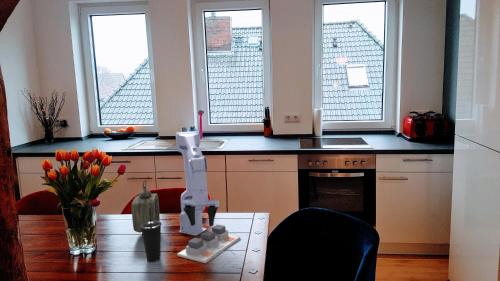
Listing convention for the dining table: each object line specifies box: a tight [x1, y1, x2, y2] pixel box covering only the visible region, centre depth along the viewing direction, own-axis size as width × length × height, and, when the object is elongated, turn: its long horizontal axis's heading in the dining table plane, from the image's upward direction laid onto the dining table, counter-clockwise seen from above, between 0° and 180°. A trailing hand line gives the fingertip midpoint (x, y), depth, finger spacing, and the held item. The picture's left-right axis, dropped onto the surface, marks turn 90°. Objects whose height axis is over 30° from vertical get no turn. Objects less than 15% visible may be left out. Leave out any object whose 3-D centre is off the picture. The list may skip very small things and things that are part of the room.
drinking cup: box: [140, 208, 163, 263], centre depth 144 cm, size 8×8×20 cm
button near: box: [188, 237, 204, 249], centre depth 148 cm, size 4×4×3 cm
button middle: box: [200, 230, 215, 241], centre depth 154 cm, size 4×4×3 cm
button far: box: [211, 224, 227, 234], centre depth 160 cm, size 4×4×3 cm
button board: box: [177, 229, 241, 264], centre depth 154 cm, size 13×24×4 cm, turn 149°
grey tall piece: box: [131, 178, 161, 238], centre depth 165 cm, size 14×9×25 cm, turn 6°
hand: (202, 225), depth 145 cm, fingers open, 7 cm apart
